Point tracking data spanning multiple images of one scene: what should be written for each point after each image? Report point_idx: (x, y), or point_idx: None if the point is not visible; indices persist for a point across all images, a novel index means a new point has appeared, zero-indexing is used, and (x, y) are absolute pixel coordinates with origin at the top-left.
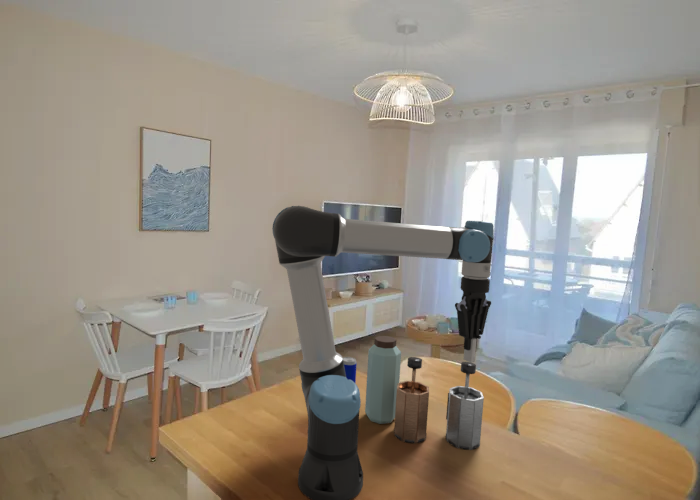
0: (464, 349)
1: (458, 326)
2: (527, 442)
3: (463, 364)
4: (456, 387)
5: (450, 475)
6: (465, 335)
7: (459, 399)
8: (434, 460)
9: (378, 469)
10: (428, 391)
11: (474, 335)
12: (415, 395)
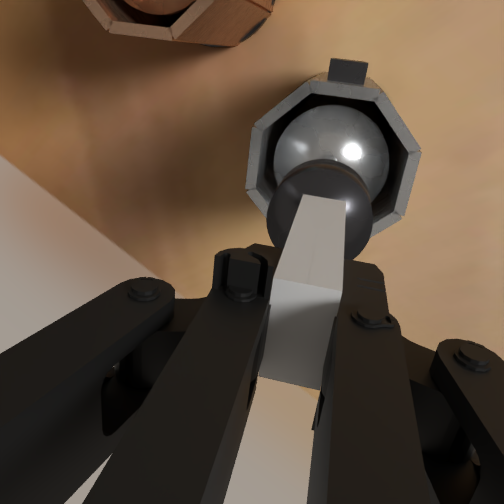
0: (294, 223)
1: (20, 345)
2: (493, 277)
3: (284, 200)
4: (352, 97)
5: (158, 204)
6: (113, 378)
7: (246, 181)
8: (172, 138)
9: (16, 63)
10: (177, 32)
11: (323, 386)
12: (96, 15)
